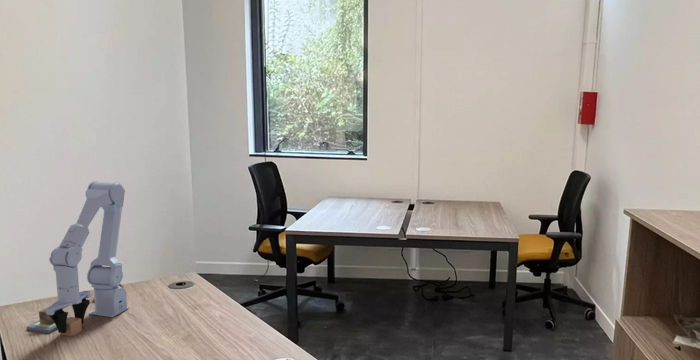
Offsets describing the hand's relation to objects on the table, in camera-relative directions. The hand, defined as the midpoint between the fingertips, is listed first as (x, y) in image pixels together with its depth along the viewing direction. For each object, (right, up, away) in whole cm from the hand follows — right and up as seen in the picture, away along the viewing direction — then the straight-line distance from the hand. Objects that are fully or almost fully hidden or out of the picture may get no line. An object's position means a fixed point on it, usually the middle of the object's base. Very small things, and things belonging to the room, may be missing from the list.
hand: (71, 327), depth 148 cm
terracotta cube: (0, -2, 0) cm, 2 cm away
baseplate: (-9, -1, +5) cm, 10 cm away
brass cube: (-9, +1, +4) cm, 10 cm away
